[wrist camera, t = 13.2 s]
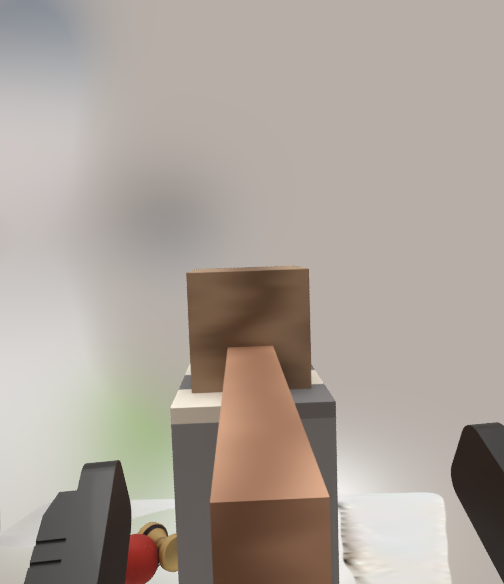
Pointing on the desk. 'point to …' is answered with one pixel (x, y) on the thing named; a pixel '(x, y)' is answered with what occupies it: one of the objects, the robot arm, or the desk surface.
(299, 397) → the grey upright pillar
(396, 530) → the desk surface
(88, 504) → the robot arm
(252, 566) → the brown angular block
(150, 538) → the kendama
